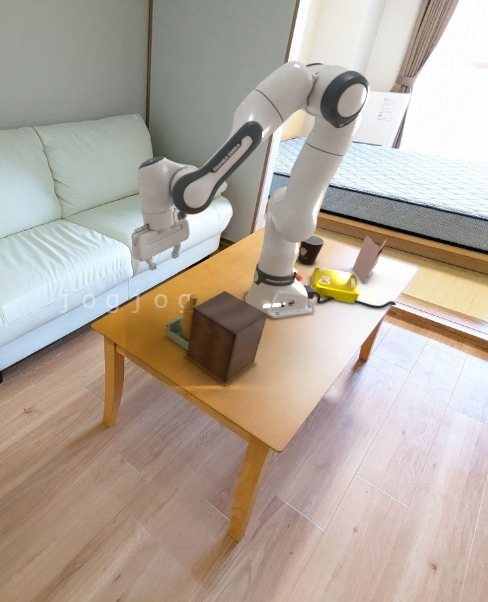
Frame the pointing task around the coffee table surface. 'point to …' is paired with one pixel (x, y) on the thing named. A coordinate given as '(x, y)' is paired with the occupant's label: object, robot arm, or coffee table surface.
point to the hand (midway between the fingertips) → (164, 263)
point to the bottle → (188, 317)
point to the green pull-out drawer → (176, 332)
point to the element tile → (335, 285)
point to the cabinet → (225, 335)
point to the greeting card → (367, 259)
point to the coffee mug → (310, 250)
